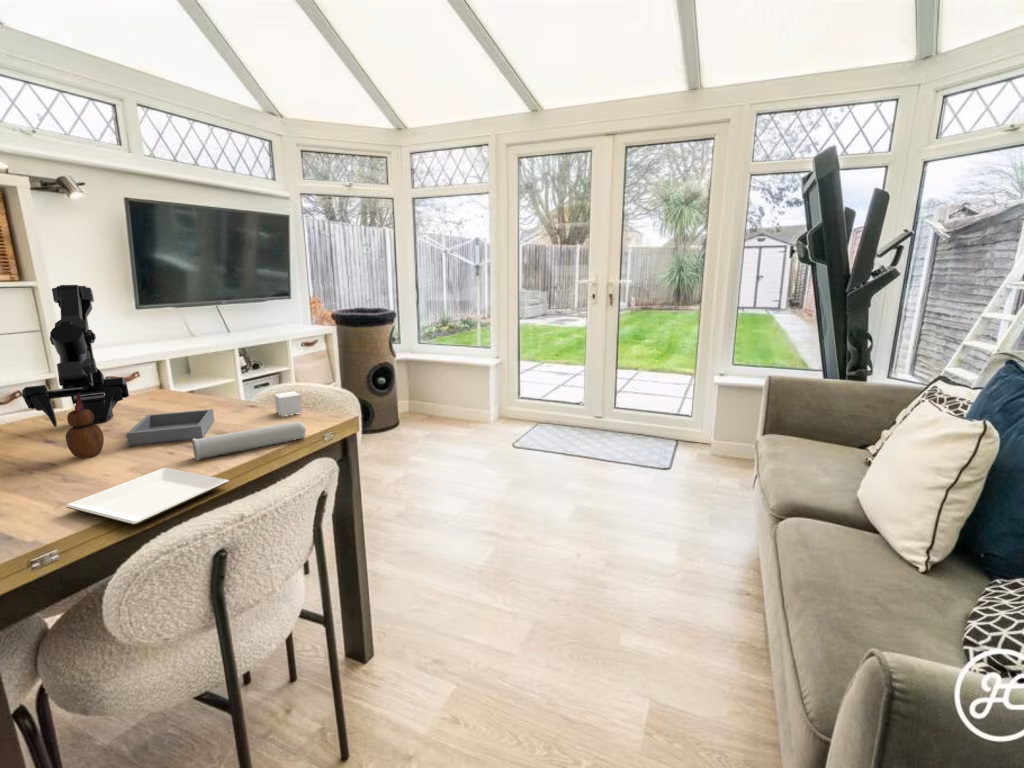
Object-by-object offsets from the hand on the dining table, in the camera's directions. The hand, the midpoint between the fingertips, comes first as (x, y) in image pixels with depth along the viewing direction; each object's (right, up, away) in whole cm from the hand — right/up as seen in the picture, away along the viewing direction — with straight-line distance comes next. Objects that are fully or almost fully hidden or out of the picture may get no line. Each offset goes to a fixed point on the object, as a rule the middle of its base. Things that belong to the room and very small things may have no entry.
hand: (81, 422), depth 117 cm
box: (+9, -4, +18) cm, 21 cm away
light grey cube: (+32, 0, +36) cm, 49 cm away
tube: (+36, -7, +8) cm, 38 cm away
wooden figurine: (0, -8, +2) cm, 9 cm away
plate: (+31, -14, -20) cm, 40 cm away
